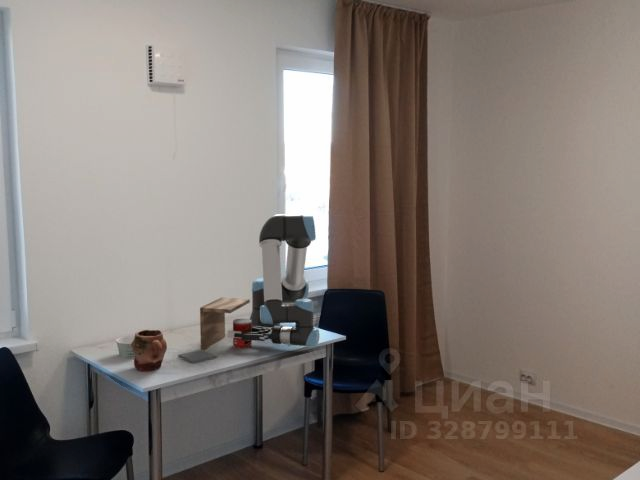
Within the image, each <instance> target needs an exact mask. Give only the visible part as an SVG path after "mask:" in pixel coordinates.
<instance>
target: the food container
mask: <svg viewBox="0 0 640 480" xmlns="http://www.w3.org/2000/svg"><path fill="white" fill-rule="evenodd" d="M134 338H135V335H128V336H122V337H119V338H116V339H115V343H116V345H117V349H118V354H119V357H120V358H122V359H134V356H135V354H134V352H133V349H132V347H131V343H132V341H133V340H134Z"/></svg>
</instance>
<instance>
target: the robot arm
mask: <svg viewBox="0 0 640 480" xmlns="http://www.w3.org/2000/svg"><path fill="white" fill-rule="evenodd" d="M258 240H259V241H258V244H259V247H260V248H261V254H262V255H261V258H262V260H261V261H262V277H258V278H256V279H254V280H253V281H252V285H251V293H252V296H251V298H252V299H251V300H252V301H251V302H252V303H251V305H252V308H251V314H250V316H249V319H250V320H251V321H252V332H243V331H242V332H241V331H233V330H227V338H231V339H233V338H241V340H252V341H257V342H258V341H260V342H265V341H269V340H271V344H273V345H275V344H277V345H287V346H288V347H290V346H300V347H317V346H318V344H319V342H320V330H319V328H316V327H315V326H314V312H315V309H314V301H313V300H312V299H310V298H308V296H309V287H310V286H309V281H308V279H306V278H305V276H304V275H305V266H306V258H307V251H308V247H310V245H311V243H312V242H313V241H315V240H317V239H316V226H315V219H314V216H313V215H312V214H311V213H310V214H309V213H308V214H305V213H299V214H298V213H297V214H296V213H295V214H294V213H288V214H286V213H285V214H284V213H283V214H282V213H281V214H279V213H278V214H274V215H273V216H271V217H269V218H268V219H267V220H266V221H265V223H264V224H263V226H262V227H261V230H260V232H259V238H258ZM282 242H285V243H286V245H287V256H286V266H285V274H283V276H282V271H281V269H282V268H281V254H280V253H281V252H280V247H281V246H282ZM281 324H295V325H294V326H290V325H289V326H288V325H287V326H286V325H284V326H283V325H281Z"/></svg>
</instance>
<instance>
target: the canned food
mask: <svg viewBox="0 0 640 480" xmlns="http://www.w3.org/2000/svg"><path fill="white" fill-rule="evenodd" d="M232 331H241V332H242V331H243V332H252V321H251V320H250V318H235V319H233V320H232ZM252 341H253V340H241V338H232V345H233V347H235V348H237V349H238V348H239V349H246V348H251V346H252Z"/></svg>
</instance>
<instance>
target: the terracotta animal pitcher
mask: <svg viewBox="0 0 640 480" xmlns="http://www.w3.org/2000/svg"><path fill="white" fill-rule="evenodd" d="M134 336H135V338H134V340H133V341H132V343H131V347H132V349H133V352H134V354H135V356H134V358H133V365H134V368H135V369H136V371H139V372H149V371H154V370H157V369H160V368H161V367H162V363H163V361H164V357H165V355H166V352H167V348H168V345H167V342H166V339H165V337H164V334H163V332H162V331H161V329H160V330H158V329H143V330H140V331H137V332H135V334H134Z"/></svg>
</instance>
